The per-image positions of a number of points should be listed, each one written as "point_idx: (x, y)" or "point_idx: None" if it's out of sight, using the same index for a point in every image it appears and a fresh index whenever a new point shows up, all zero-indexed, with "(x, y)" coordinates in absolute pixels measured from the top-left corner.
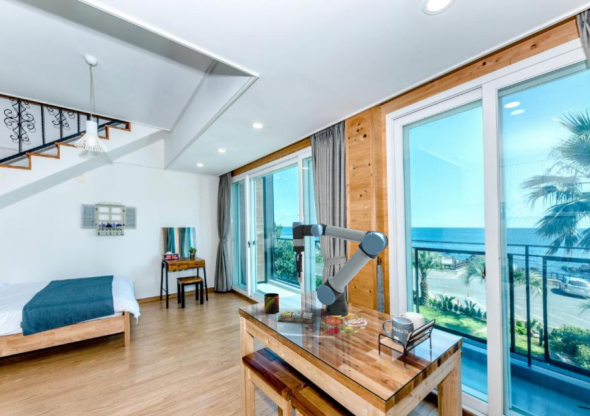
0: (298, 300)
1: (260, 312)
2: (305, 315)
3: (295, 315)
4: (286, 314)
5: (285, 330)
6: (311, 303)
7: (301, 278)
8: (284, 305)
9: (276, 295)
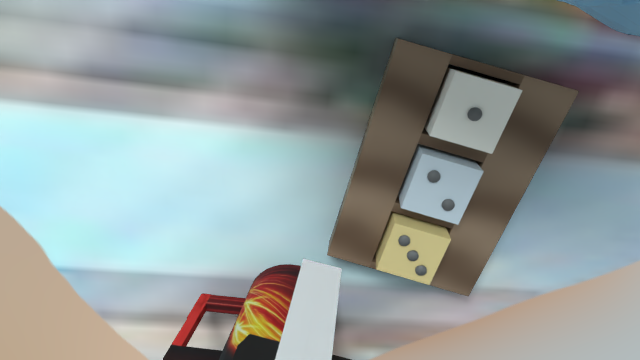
0: (37, 123)
1: None
2: (497, 133)
3: (467, 202)
4: (440, 258)
5: (570, 251)
6: (92, 25)
7: (335, 321)
8: (153, 225)
9: (228, 353)
